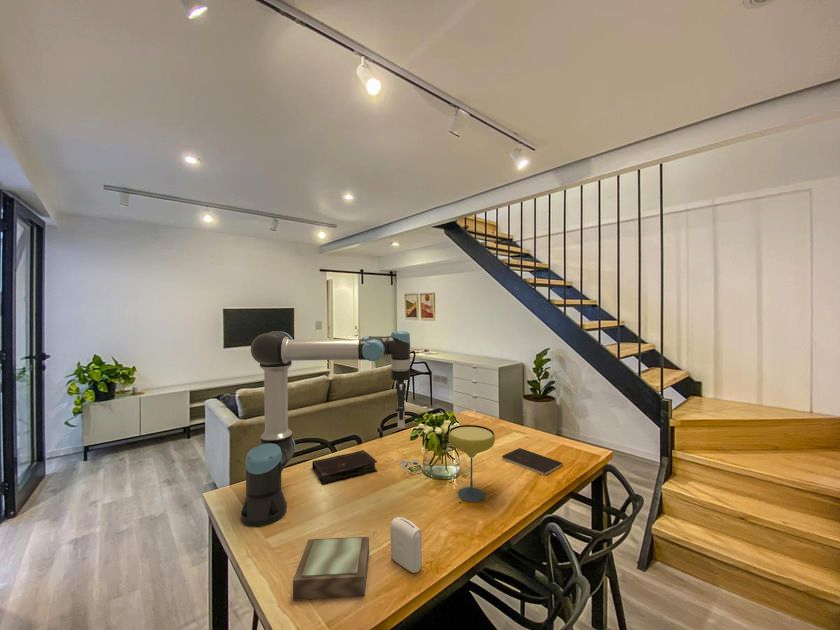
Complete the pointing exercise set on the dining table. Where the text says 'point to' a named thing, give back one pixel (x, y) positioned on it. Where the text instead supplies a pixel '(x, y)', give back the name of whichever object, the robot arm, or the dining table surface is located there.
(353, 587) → the block
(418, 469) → the handheld gaming device
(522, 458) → the hardcover book
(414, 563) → the photo printer
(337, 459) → the diary
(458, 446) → the cocktail glass
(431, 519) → the dining table surface
